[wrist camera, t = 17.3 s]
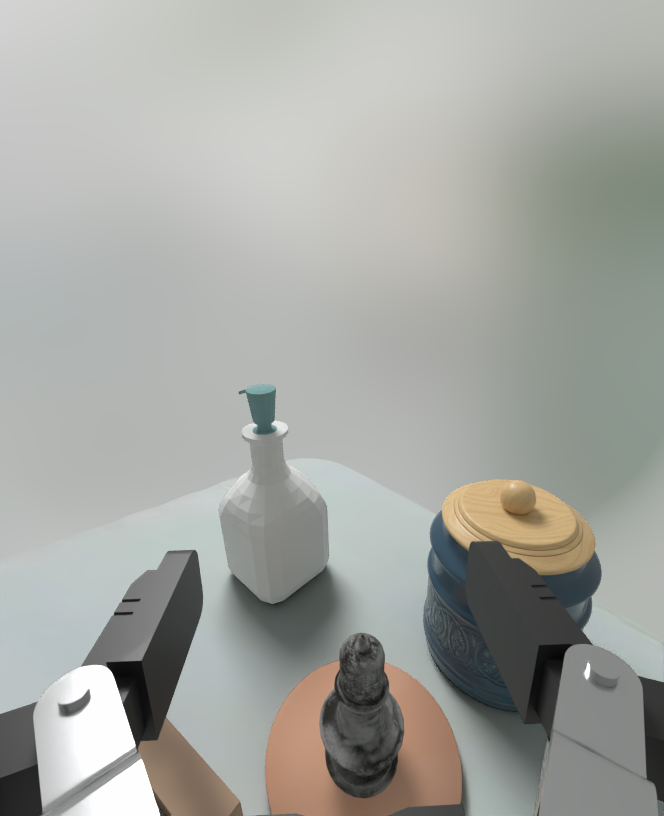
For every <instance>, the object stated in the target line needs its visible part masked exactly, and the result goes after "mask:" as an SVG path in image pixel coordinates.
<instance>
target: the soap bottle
mask: <svg viewBox="0 0 664 816" xmlns="http://www.w3.org/2000/svg"><path fill="white" fill-rule="evenodd" d="M242 393H246V394H247V398H248V402H249V406H250V410H251V414H252V418H253V422H254V423H251V424H249V425H247V426H245V427H244V428H243V429H242V438H243V439H244V440H245V441H247V442H249V443H250V449H251V457H252V465H251V468H250V470H249V471H248V472H246V473H245V474H244V475H242V476H241V477H240V478H239V479H238V480H237V481H236V483H235V484H234V485H233V487H232V488H231V489H230V491H229V492H228V493H227V494H226V495H225V496H224V497H223V499H222V501H221V503H220V506H219V516H220V521H221V527H222V533H223V538H224V544H225V550H226V555H227V561H228V567H229V569H230V570H231V572H232V573H233V574H234V575H235V576H236V577H237V578H238V579H239V580H240V581H241V582H242V583H243V584H244V585H245V586H246V587H247V588H249V589H250V590H251V591H252V592H253V593H254V594H255V595H256V596H257V597H258V598H259V599H260V600H261V601H264V602H268V603H271V604H275V603H278V602H281V601H283V600H285V599H286V598H287V597H289V596H290V595H291V594H293V593H294V592H295V591H297V590H298V589H299V588H300V587H302V586H303V585H304V584H306V583H307V582H308V581H310V580H311V579H312V578H314V577H315V576H316V575H317V574H319V573H320V572H321V571H323V570H324V568H325V566H326V564H327V562H328V558H329V542H328V518H327V506H326V503H325V501H324V499H323V498H322V496H321V495H320V493H319V491H318V490H317V488H316V486H315V485H314V484H313V483H312V482H311V480H310V479H308V478H307V477H306V476H304V475H303V474H302V473H300V472H299V471H298V470H296V469H295V468H293V467H290V466H288V465H287V464H286V462H285V460H284V456H283V444H282V439H283V438H284V437H285V436H286V435H287V434H288V427H287V425H286V424H285V423H283V422H279V421H275V420H274V418H275V393H276V388H275V387H274V386H273V385H266V384H261V385H254V386H251V387H248V388H247V389H246V390H243V391H240V392H239V394H242Z"/></svg>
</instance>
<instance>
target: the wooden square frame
mask: <svg viewBox="0 0 664 816" xmlns="http://www.w3.org/2000/svg"><path fill="white" fill-rule="evenodd" d="M138 750H139V753H140V755H141V758H142V761H143V764H144V767H145V770H146V773H147V777H148V780H149V783H150V786H151V789H152V792H153V795H154V798H155V801H156V803H157V805H158V806H159V807H160V809H161V810H162V812H163V813H164V814H165V816H243V813H242V808H241V804H240V801H239V799H238V798H237V797H236V796H235V795H234V794H233V793H232V792H231V790H230V789H229V788H228V787H227V786H226V785H225V784H224V782H223V781H222V780H221V779H220V778H219V777H218V776H217V775H216V773H215V772H214V771H213V770H212V769H211V768H210V767H209V765H208V764H207V763H206V762H205V761H204V760H203V759H202V758H201V756H200V755H199V754H198V753H197V752H196V751H195V750H194V748H193V747H192V746H191V745H190V744H189V743H188V742H187V741H186V739H185V738H184V737H183V736H182V735H181V734H180V733H179V731H178V730H177V729H176V728H175V727H174V726H173V725H172V724H171V722H170V721H169V720H168V719H167V718H165V721H164V723H163V726H162V729H161V732H160V735H159V738H158V740H155V741H141V742H140V744H139V747H138Z"/></svg>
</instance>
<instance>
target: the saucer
mask: <svg viewBox="0 0 664 816" xmlns="http://www.w3.org/2000/svg"><path fill="white" fill-rule="evenodd" d="M339 669H340V660H339V661H335V662H332V663H329V664H326V665H324V666H322V667H320V668H318V669H316V670H315V671H313V672H312V673H310V674H309V675H307V676H306V677H305V678H304V679H303V680H302V681H301V682H299V683H298V684H297V686H296V687H295V688H294V689H293V690H292V691H291V692H290V694H289V695H288V697H287V698H286V699H285V701H284V702H283V704H282V706H281V708H280V710H279V711H278V713H277V716H276V718H275V721H274V723H273V725H272V729H271V732H270V736H269V740H268V746H267V751H266V765H265V773H266V787H267V793H268V799H269V805H270V810H271V814H272V815H275V814H293V813H297V814H300V815H304V816H388V815H391V814H393V813H395V812H398V811H400V810H402V809H405V808H407V807H418V806H435V805H453V804H460V803H461V795H462V771H461V761H460V756H459V751H458V747H457V743H456V740H455V737H454V734H453V731H452V729H451V727H450V724H449V722H448V720H447V718H446V716H445V715H444V713H443V711H442V709H441V708H440V706H439V705H438V703H437V702H436V701H435V699H434V698H433V696H432V695H431V694H430V693H429V692H428V691H427V690H426V689H425V687H423V686H422V685H421V684H420V683H419V682H418V681H417V680H416V679H414V678H413V677H412V676H410V675H409V674H407V673H406V672H404V671H402V670H401V669H399V668H397V667H395V666H393V665H390V664H388V663H385V664H384V671H385V673H386V675H387V677H388V680H389V692H390V693H391V694H392V695H393V696H394V698H395V699H396V701H397V703H398V705H399V706H400V709H401V712H402V715H403V719H404V737H403V742H402V746H401V748H400V750H399V752H398V763H397V768H396V773H395V775H394V777H393V779H392V782H391V783H390V784H389V785H388V787H387V788H386V789H385V790H384V791H383V792H381V793H379V794H378V795H376V796H374V797H369V798H358V797H353V796H351V795H349V794H347V793H345V792H344V791H343V790H341V789H340V788H339V787H338V786H337V785H336V784H335V782H334V781H333V779H332V778H331V776H330V774H329V771H328V768H327V765H326V758H325V747H324V744H323V741H322V739H321V735H320V727H319V720H320V712H321V709H322V706H323V703H324V701H325V699H326V698H327V696H328V695H329V693H330V692H331V691H332V690H333V689H334V683H335V677H336V675H337V672H338V671H339Z"/></svg>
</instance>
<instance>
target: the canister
mask: <svg viewBox="0 0 664 816" xmlns="http://www.w3.org/2000/svg"><path fill="white" fill-rule="evenodd" d="M430 541H431V545H432V548H431V550H430V552H429V556H428V562H427V567H428V574H429V577H428V590H427V598H426V601H425V605H424V615H423V623H424V631H425V635H426V640H427V644H428V647H429V650H430V652H431V655H432V657H433V659H434V660H435V662H436V664H437V665H438V667H439V668H440V670H441V671H442V672H443V673H444V674H445V676H446V677H447V678H448V679H449V680H450V681H451V682H452V683H453V684H454V685H456V686H457V687H458V688H459V689H460V690H462V691H463V692H465V693H466V694H467V695H469V696H471V697H472V698H474V699H476V700H478V701H480V702H482V703H484V704H487V705H489V706H492V707H495V708H499V709H503V710H508V711H518V710H517V707H516V705H515V703H514V701H513V699H512V697H511V695H510V693H509V691H508V688H507V686H506V684H505V682H504V680H503V678H502V676H501V674H500V671H499V669H498V667H497V665H496V663H495V661H494V659H493V657H492V655H491V652H490V650H489V648H488V646H487V644H486V642H485V640H484V638H483V636H482V633H481V631H480V629H479V627H478V625H477V623H476V621H475V619H474V617H473V614H472V612H471V610H470V608H469V605H468V602H467V598H466V592H465V581H466V572H467V562H468V553H469V546H470V543H471V542H472V541H499V542H500V543H501V544H502V546H503V547H504V549H505V550H506V551H507V553H508V554H509V556H510V557H511V558H520V559H521V560H522V561H524V562H525V563H526V564H528V565H529V566H531V567H532V568H533V569H535V570H536V571H537V573H538V574H539V575H540V577H541V578H542V579H543V581H544V582H545V583H546V584H547V587H549V588H550V590H551V591H552V592H553V594H554V595H555V596H556V600H559V601H560V603H561V604H562V605H563V607H564V608H565V609H566V611H567V612H568V613H569V614H570V616H571V617H572V618H573V620H574V621H575V622H576V624H577V625H578V626H579V628H580V629H581V630H582V631H583V628H584V627H585V626H586V624H587V623H588V621H589V619H590V616H591V612H592V597H591V596H592V595H593V594H594V593H595V592H596V590H597V589H598V586H599V584H600V581H601V576H602V573H601V565H600V561H599V559H598V556H597V554H596V552H595V538H594V534H593V532H592V530H591V528H590V526H589V525H588V523H587V522H586V521H585V519H583V517H582V516H581V515H580V514H579V513H578V512H576V511H575V510H574V509H573V508H571V507H570V506H569V505H567V504H566V503H564V502H563V501H561V500H560V499H559V498H557V497H556V496H554V495H552V494H551V493H549V492H547V491H545V490H543V489H540V488H538V487H535V486H532V485H529V484H527V483H526V482H524V481H520V480H513V481H510V480H487V481H482V482H478V483H473V484H468V485H465V486H463V487H460V488H458V489H456V490H455V491H453V492H452V493H451V494H450V495H449V496H448V497H447V498H446V500H445V501H444V504H443V508H442V510H441V511H440V512H439V513H438V514H437V515H436V517H435V518H434V520H433V522H432V524H431V528H430Z"/></svg>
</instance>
